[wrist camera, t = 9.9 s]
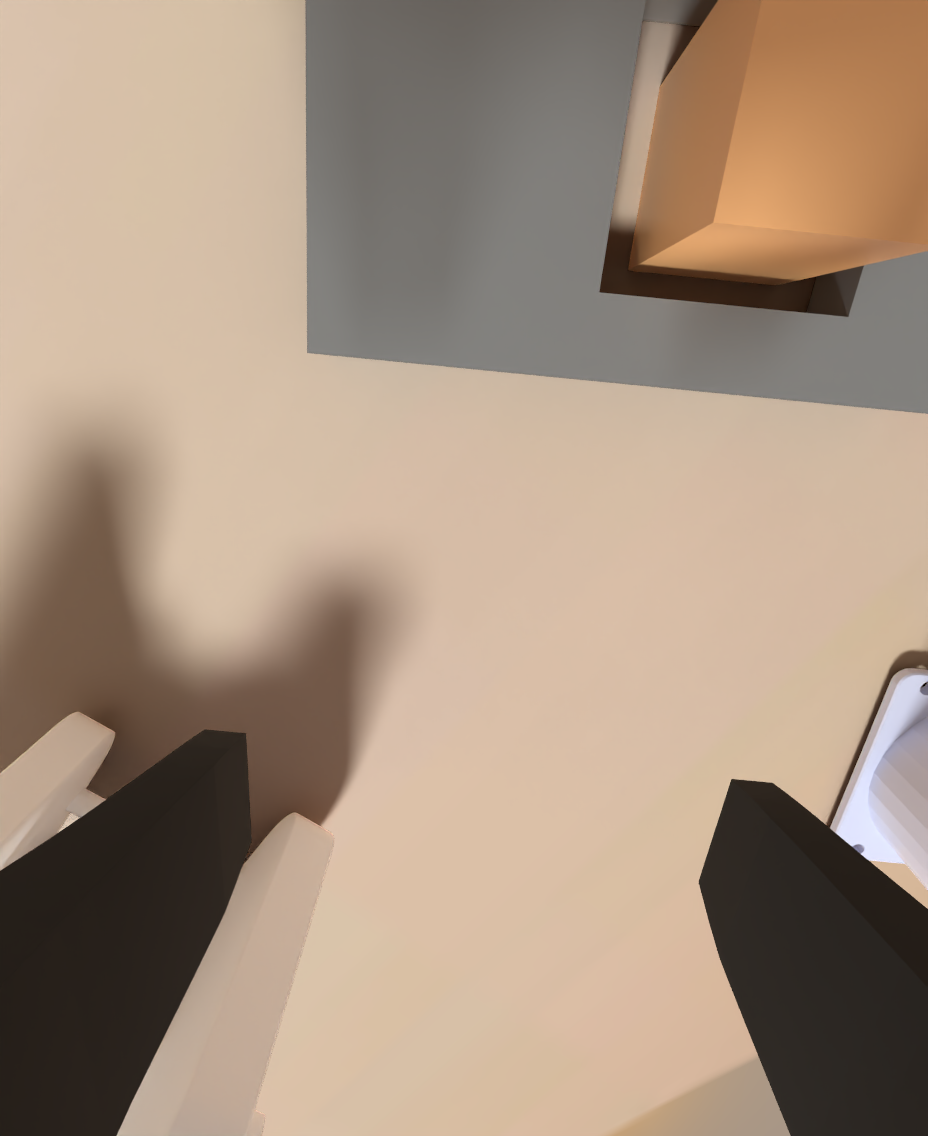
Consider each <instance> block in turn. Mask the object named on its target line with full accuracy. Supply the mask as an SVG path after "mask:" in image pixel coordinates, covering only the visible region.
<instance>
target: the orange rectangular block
mask: <svg viewBox="0 0 928 1136" xmlns="http://www.w3.org/2000/svg"><path fill="white" fill-rule="evenodd" d="M925 251H928V0H718V1H717V3H716V4H715V6H714V7H713V9H712V10H711V12H710V13H709V15H708V16H707V18H706V19H705V21H704V22H703V24H702V25H701V26H700V28H699V29H698V31H697V32H696V34H695V35H694V37H693V38H692V40H691V41H690V43H689V44H688V46H687V47H686V49H685V50H684V52H683V53H682V55H681V56H680V58H679V59H678V61H677V62H676V64H675V65H674V67H673V68H672V70H671V71H670V72H669V74H668V75H667V77H666V78H665V80H664V81H663V83H662V84H661V86H660V89H659V95H658V101H657V106H656V112H655V118H654V124H653V129H652V135H651V141H650V146H649V152H648V158H647V164H646V169H645V175H644V181H643V186H642V192H641V198H640V204H639V209H638V215H637V221H636V226H635V232H634V238H633V244H632V249H631V255H630V261H629V266H628V270H629V271H638V272H648V273H658V274H668V275H678V276H687V277H697V278H707V279H717V280H727V281H737V282H746V283H756V284H766V285H780V284H785V283H789V282H794V281H798V280H802V279H807V278H811V277H816V276H820V275H824V274H829V273H833V272H837V271H842V270H846V269H851V268H855V267H859V266H864V265H868V264H873V263H877V262H881V261H886V260H890V259H894V258H899V257H903V256H908V255H912V254H916V253H921V252H925Z"/></svg>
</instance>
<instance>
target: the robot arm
mask: <svg viewBox="0 0 928 1136" xmlns="http://www.w3.org/2000/svg"><path fill="white" fill-rule="evenodd" d="M926 682H928V670H926V669H916V668H906V669H903V670H900V671H899V672H897V673H896V674H895V675H894V676H893V678H892V679H891V681H890V684H889V686H888V689H887V691H886V694H885V696H884V698H883V701H882V703H881V706H880V708H879V710H878V713H877V715H876V718H875V720H874V723H873V725H872V727H871V730H870V732H869V735H868V737H867V740H866V742H865V744H864V747H863V749H862V752H861V754H860V756H859V759H858V761H857V764H856V766H855V769H854V771H853V773H852V776H851V778H850V781H849V783H848V786H847V788H846V790H845V793H844V795H843V798H842V800H841V802H840V805H839V807H838V810H837V812H836V815H835V817H834V819H833V822H832V824H831V827H830V828H829V827H828V826H826V825H825V824H824V823H823V822H822V821H820V820H819V819H818V818H817V817H816V816H814V815H813V814H812V813H811V812H809V811H808V810H807V809H806V808H804V807H803V806H802V805H801V804H800V803H798V802H797V801H796V800H794V799H793V798H792V797H791V796H789V795H788V794H787V793H785V792H784V791H783V790H781V789H780V788H779V787H777V786H776V785H775V784H773V783H767V782H757V781H746V780H735V779H731V782H730V786H729V789H728V792H727V795H726V798H725V801H724V804H723V807H722V811H721V814H720V817H719V820H718V823H717V826H716V829H715V832H714V835H713V839H712V842H711V845H710V848H709V851H708V854H707V857H706V860H705V863H704V867H703V870H702V873H701V876H700V879H699V885H700V889H701V893H702V896H703V900H704V904H705V908H706V912H707V916H708V919H709V923H710V927H711V930H712V933H713V937H714V940H715V944H716V947H717V951H718V954H719V957H720V960H721V963H722V965H723V968H724V970H725V973H726V976H727V978H728V981H729V983H730V986H731V988H732V991H733V993H734V996H735V998H736V1001H737V1004H738V1006H739V1009H740V1011H741V1014H742V1016H743V1019H744V1021H745V1024H746V1026H747V1029H748V1031H749V1034H750V1036H751V1039H752V1041H753V1044H754V1046H755V1048H756V1051H757V1053H758V1056H759V1058H760V1061H761V1063H762V1066H763V1068H764V1071H765V1073H766V1076H767V1078H768V1081H769V1083H770V1086H771V1088H772V1090H773V1093H774V1095H775V1098H776V1100H777V1103H778V1105H779V1108H780V1110H781V1113H782V1115H783V1118H784V1120H785V1123H786V1125H787V1127H788V1130H789V1133H790V1135H791V1136H928V909H927V908H926V907H925V906H923V905H922V904H921V903H920V902H918V901H917V900H916V899H915V898H913V897H912V896H911V895H910V894H909V893H907V892H906V891H905V890H904V889H902V888H901V887H900V886H899V885H898V884H896V883H895V882H894V881H893V880H892V879H890V878H889V877H888V876H887V875H885V874H884V873H883V872H882V871H881V870H879V869H878V868H877V867H876V866H875V865H873V864H872V863H871V862H870V861H869V860H871V861H882V862H893V863H903V864H906V865H907V866H908V867H909V869H910V870H911V871H912V872H913V873H914V875H915V876H916V877H917V878H918V879H919V881H920V882H921V883H922V884H923V885H924V887H925V888H926V889H927V890H928V683H927V684H926V685H925V686H924V687H922V688H920V687H921V686H922V685H923V684H924V683H926ZM250 843H251V821H250V802H249V783H248V764H247V745H246V733H235V732H224V731H214V730H204V731H202V732H201V733H199V734H198V735H196V736H195V737H193V738H192V739H190V740H189V741H187V742H186V743H185V744H183V745H182V746H180V747H179V748H178V749H176V750H175V751H173V752H172V753H171V754H169V755H168V756H167V757H165V758H164V759H162V760H161V761H160V762H158V763H157V764H155V765H154V766H153V767H151V768H150V769H149V770H147V771H146V772H144V773H143V774H142V775H140V776H139V777H137V778H136V779H135V780H133V781H132V782H130V783H129V784H128V785H126V786H125V787H123V788H122V789H121V790H119V791H118V792H116V793H115V794H113V795H112V796H111V797H109V798H108V799H106V800H105V801H103V802H102V803H101V804H99V805H98V806H96V807H95V808H93V809H92V810H91V811H89V812H88V813H86V814H85V815H83V816H82V817H81V818H79V819H78V820H76V821H75V822H74V823H72V824H71V825H69V826H68V827H66V828H65V829H63V830H62V831H60V832H59V833H57V834H56V835H54V836H53V837H51V838H50V839H48V840H47V841H45V842H44V843H42V844H40V845H39V846H37V847H36V848H34V849H33V850H31V851H30V852H28V853H27V854H25V855H24V856H22V857H21V858H19V859H17V860H16V861H14V862H13V863H11V864H10V865H8V866H7V867H5V868H4V869H2V870H1V871H0V1136H117V1134H118V1132H119V1129H120V1127H121V1125H122V1123H123V1121H124V1118H125V1116H126V1114H127V1112H128V1110H129V1107H130V1105H131V1103H132V1101H133V1099H134V1097H135V1095H136V1093H137V1091H138V1089H139V1087H140V1085H141V1083H142V1081H143V1079H144V1077H145V1075H146V1073H147V1071H148V1069H149V1067H150V1065H151V1063H152V1060H153V1058H154V1056H155V1054H156V1052H157V1050H158V1048H159V1046H160V1044H161V1042H162V1040H163V1038H164V1036H165V1034H166V1032H167V1030H168V1028H169V1026H170V1024H171V1022H172V1020H173V1018H174V1016H175V1014H176V1012H177V1010H178V1008H179V1006H180V1004H181V1002H182V1000H183V998H184V996H185V994H186V992H187V990H188V988H189V986H190V984H191V982H192V980H193V978H194V976H195V974H196V972H197V969H198V967H199V965H200V963H201V961H202V959H203V957H204V955H205V953H206V951H207V949H208V947H209V945H210V943H211V941H212V939H213V937H214V935H215V933H216V930H217V928H218V926H219V924H220V922H221V920H222V918H223V916H224V914H225V912H226V909H227V906H228V904H229V901H230V898H231V896H232V893H233V890H234V888H235V885H236V882H237V880H238V877H239V874H240V871H241V868H242V866H243V863H244V860H245V857H246V854H247V852H248V849H249V846H250Z"/></svg>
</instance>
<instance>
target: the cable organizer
mask: <svg viewBox="0 0 928 1136" xmlns="http://www.w3.org/2000/svg"><path fill="white" fill-rule="evenodd" d="M114 738H115V732H114V731H113V730H111V729H109V728H107V727H105V726H104V725H102V724H100V723H98V722H96V721H95V720H93V719H91V718H89V717H88V716H86V715H84V714H82V713H80V712H75V713H72V714H70V715H68V716H67V717H65V718H64V719H63V720H61V721H60V722H59V723H58V724H56V725H55V726H54V727H53V728H52V729H51V730H49V731H48V732H47V733H46V734H45V735H44V736H42V737H41V738H40V739H39V740H38V741H37V742H36V743H34V744H33V745H32V746H31V747H30V748H29V749H28V750H26V751H25V752H24V753H23V754H22V755H21V756H19V757H18V758H17V759H16V760H15V761H14V762H13V763H11V764H10V765H9V766H8V767H7V768H6V769H5V770H3V771H2V772H1V773H0V871H1V870H2V869H4V868H5V867H7V866H8V865H10V864H11V863H13V862H14V861H16V860H17V859H19V858H21V857H22V856H24V855H25V854H27V853H28V852H30V851H31V850H33V849H34V848H36V847H37V846H39V845H40V844H42V843H44V842H45V841H47V840H48V839H50V838H51V837H53V836H54V835H56V834H57V833H58V832H59V830H60V829H61V827H62V826H63V824H64V822H65V821H66V819H67V818H68V816H69V814H70V813H72V814H74V815H76V816H78V817H80V818H81V817H82V816H83V815H85V814H86V813H88V812H89V811H91V810H92V809H93V808H95V807H96V806H98V805H99V804H101V803H102V802H103V801H105V800H106V799H104V798H102V797H100V796H99V795H97V794H95V793H93V792H91V791H89V790H87V789H86V788H87V786H88V785H89V783H90V781H91V780H92V778H93V777H94V775H95V774H96V772H97V770H98V769H99V767H100V766H101V764H102V762H103V761H104V759H105V757H106V756H107V754H108V752H109V750H110V748H111V746H112V744H113V741H114ZM333 846H334V835H333V834H332V833H331V832H330V831H328V830H326V829H324V828H323V827H321V826H319V825H317V824H316V823H314V822H312V821H310V820H309V819H307V818H305V817H303V816H302V815H300V814H298V813H295V812H293V813H291V814H289V815H287V816H286V817H285V818H283V819H282V820H281V821H280V822H279V823H278V824H277V825H276V826H275V827H274V828H273V829H272V831H271V832H270V833H269V834H268V835H267V836H266V838H265V839H264V840H263V841H262V843H261V844H260V845H259V846H258V847H257V849H256V850H255V851H254V852H253V854H252V855H251V856H250V857H249V858H248V860H247V861H246V862H245V863H244V865H243V866H242V868H241V871H240V874H239V877H238V880H237V882H236V885H235V888H234V890H233V893H232V896H231V898H230V901H229V904H228V906H227V909H226V912H225V914H224V916H223V918H222V920H221V922H220V924H219V926H218V928H217V930H216V933H215V935H214V937H213V939H212V941H211V943H210V945H209V947H208V949H207V951H206V953H205V955H204V957H203V959H202V961H201V963H200V965H199V967H198V969H197V972H196V974H195V976H194V978H193V980H192V982H191V984H190V986H189V988H188V990H187V992H186V994H185V996H184V998H183V1000H182V1002H181V1004H180V1006H179V1008H178V1010H177V1012H176V1014H175V1016H174V1018H173V1020H172V1022H171V1024H170V1026H169V1028H168V1030H167V1032H166V1034H165V1036H164V1038H163V1040H162V1042H161V1044H160V1046H159V1048H158V1050H157V1052H156V1054H155V1056H154V1058H153V1060H152V1063H151V1065H150V1067H149V1069H148V1071H147V1073H146V1075H145V1077H144V1079H143V1081H142V1083H141V1085H140V1087H139V1089H138V1091H137V1093H136V1095H135V1097H134V1099H133V1101H132V1103H131V1105H130V1107H129V1110H128V1112H127V1114H126V1116H125V1118H124V1121H123V1123H122V1125H121V1127H120V1129H119V1132H118V1134H117V1136H262V1132H263V1128H264V1123H265V1114H264V1113H262V1112H259V1111H257V1110H255V1107H256V1104H257V1100H258V1097H259V1094H260V1090H261V1087H262V1084H263V1080H264V1077H265V1074H266V1070H267V1067H268V1064H269V1060H270V1057H271V1054H272V1050H273V1047H274V1044H275V1040H276V1037H277V1034H278V1030H279V1027H280V1024H281V1020H282V1017H283V1014H284V1010H285V1007H286V1004H287V1000H288V997H289V994H290V990H291V987H292V984H293V980H294V977H295V974H296V970H297V967H298V964H299V960H300V957H301V954H302V950H303V947H304V944H305V940H306V937H307V934H308V930H309V927H310V924H311V920H312V917H313V914H314V910H315V907H316V904H317V900H318V897H319V894H320V890H321V887H322V884H323V880H324V877H325V874H326V870H327V867H328V864H329V860H330V857H331V854H332V850H333Z"/></svg>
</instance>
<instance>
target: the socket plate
mask: <svg viewBox="0 0 928 1136" xmlns="http://www.w3.org/2000/svg"><path fill="white" fill-rule="evenodd" d="M717 1H718V0H306V180H307V353H314V354H324V355H334V356H345V357H355V358H365V359H375V360H385V361H395V362H406V363H416V364H426V365H436V366H446V367H457V368H467V369H477V370H487V371H497V372H508V373H518V374H528V375H538V376H548V377H559V378H569V379H579V380H589V381H599V382H610V383H620V384H630V385H640V386H650V387H661V388H671V389H681V390H691V391H701V392H712V393H722V394H732V395H742V396H752V397H763V398H773V399H783V400H793V401H803V402H814V403H824V404H834V405H844V406H854V407H865V408H875V409H885V410H895V411H905V412H915V413H926V414H928V251H925V252H921V253H916V254H912V255H908V256H903V257H899V258H894V259H890V260H886V261H881V262H877V263H873V264H868V265H864V266H859V267H855V268H851V269H846V270H842V271H837V272H833V273H829V274H824V275H820V276H817V277H816V280H815V284H814V287H813V291H812V295H811V298H810V302H809V305H808V309H807V312H806V313H803V312H793V311H782V310H772V309H762V308H752V307H742V306H732V305H722V304H712V303H702V302H692V301H681V300H671V299H661V298H651V297H641V296H631V295H621V294H611V293H601V292H599V291H600V284H601V278H602V272H603V266H604V259H605V253H606V247H607V240H608V234H609V228H610V222H611V215H612V209H613V203H614V196H615V190H616V184H617V178H618V171H619V165H620V159H621V152H622V146H623V140H624V134H625V127H626V121H627V115H628V108H629V102H630V96H631V90H632V83H633V77H634V71H635V64H636V58H637V52H638V45H639V39H640V33H641V27H642V21H651V22H661V23H671V24H681V25H690V26H701V25H702V24H703V22H704V21H705V19H706V18H707V16H708V15H709V13H710V12H711V10H712V9H713V7H714V6H715V4H716V3H717Z"/></svg>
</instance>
